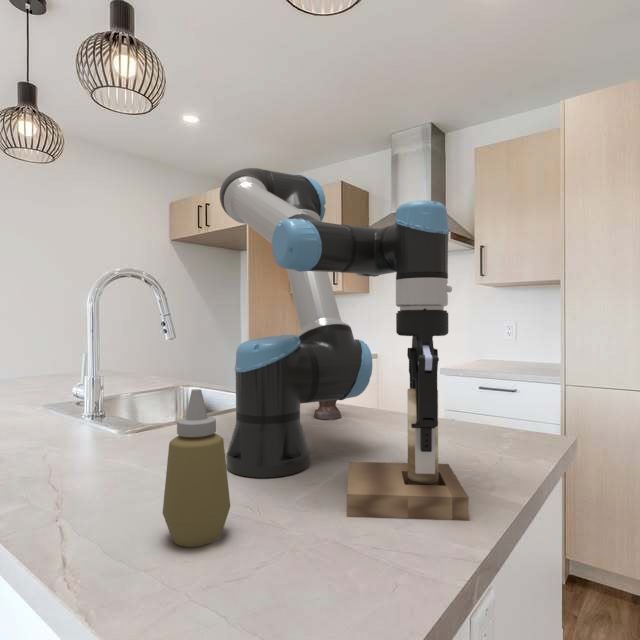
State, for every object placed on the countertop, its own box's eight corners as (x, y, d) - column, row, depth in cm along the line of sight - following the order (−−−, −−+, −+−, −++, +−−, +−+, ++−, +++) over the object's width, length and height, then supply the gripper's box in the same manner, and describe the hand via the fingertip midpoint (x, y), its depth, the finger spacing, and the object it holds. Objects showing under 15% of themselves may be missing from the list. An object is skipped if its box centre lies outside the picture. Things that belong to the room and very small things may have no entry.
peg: (409, 503, 66) (408, 392, 66) (406, 492, 70) (405, 387, 70) (441, 504, 65) (440, 392, 65) (436, 492, 70) (435, 387, 70)
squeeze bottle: (235, 521, 60) (234, 384, 60) (224, 552, 52) (223, 395, 52) (173, 522, 60) (172, 385, 60) (153, 554, 52) (152, 395, 52)
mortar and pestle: (296, 415, 126) (296, 343, 126) (317, 411, 132) (317, 341, 132) (329, 422, 118) (328, 344, 118) (349, 416, 125) (349, 343, 125)
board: (346, 516, 62) (346, 493, 62) (349, 479, 76) (349, 461, 76) (468, 520, 60) (468, 497, 60) (448, 482, 74) (448, 463, 74)
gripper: (460, 307, 59) (461, 489, 59) (438, 309, 76) (438, 450, 76) (401, 307, 59) (402, 488, 59) (392, 310, 77) (393, 449, 77)
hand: (422, 466), depth 68 cm, fingers closed on peg, 4 cm apart
